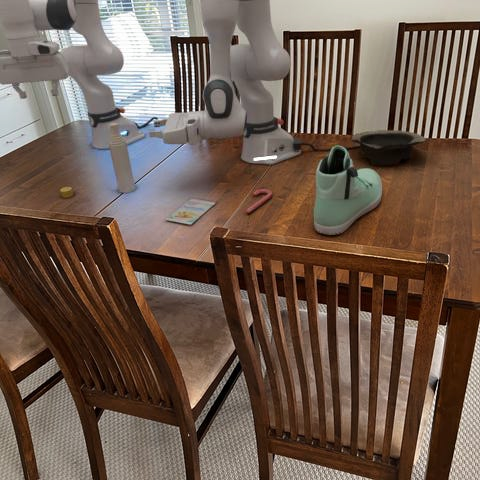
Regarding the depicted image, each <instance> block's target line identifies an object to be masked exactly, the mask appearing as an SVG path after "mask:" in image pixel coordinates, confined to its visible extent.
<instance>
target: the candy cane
mask: <svg viewBox="0 0 480 480" xmlns="http://www.w3.org/2000/svg"><path fill="white" fill-rule="evenodd" d="M261 194H265V195H264V196H263V197H262V198H260V199H259V200H257V201H256V202H255V203H254V204H252V205H251V206H250V207H248V208H247V209H246V210H245V213H246V214H248V215H249V214H251V213H252V212H254V211H255V210H257V209H258V208H259V207H260V206H261V205H263V204H264V203H265V202H267V201H268V200H269V199H271V198H272V197H273V192H272V191H271V190H270V189H266V188H260V189H256V190H255V191H253V193H252V196H253V197H257V196H258V195H261Z"/></svg>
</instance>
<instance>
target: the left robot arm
mask: <svg viewBox="0 0 480 480" xmlns="http://www.w3.org/2000/svg"><path fill="white" fill-rule="evenodd" d="M0 23H1V25H2V27H3V28H4V33H5V40H6V43H7V47H8V48H7V49H2V50H0V85H2V86H3V85H11V86H12V88H13V90H14V91H15V92H16V93H18V96H19V98H20V100H23V99H24V100H25V99H27V98H28V95H27V91H26V90H23V89H21V87H20V86H21V84H26V83H27V84H29V83H37V82H39V83H40V82H49V81H51V83H52V84H53V85H54V86H53V88H52V89H51V90H50V93H51V96H52V97H57V96H59V90H58V88H59V85H60V81H61V80H62V81H63V80H67V79H68V77H70V78H72V80H73V81H74V82H75V83H76V84H77V85H78V87H79V89H80V90H81V92H82V95H83V98H84V101H85V104H86V109H87V118H88V122H89V125H90V127H91V128H90V129H91V137H92V138H91V140H92V141H91V147H92V148H94V149H98V150H107V149H109V139H110V136H111V130H110V126H109V124H111V123H118V128H119V133H121V135H122V136H123V137H124V139H125V141H126V143H127V146H128V145H131V144H132V143H135V142H137V141H139V140H141V139H143V138H145V137H146V135H145V133H144V132H142V131H140V130H139V129H142V128H145V127H146V126H148V125H149V124H151V122H152V121H158V120H159V117H156V116H153V117H152V118H150V119H149V120H148V121H146V123H143V124H142V125H138V123H137V122H135V121H134V120H131V119H129V118H127V117H125V116H123V115H122V114H125V112H126V109H125V108H124V107H123V108H122V107H117V106H116V103H115V97H114V94H113V90H112V87H110V86H109V85H108V84H106V83H104V82H102V81H101V80H100V78H99V77H98V76H110V75H115V74H118V73H120V72H121V71H122V70H123V67H124V63H125V57H124V55H123V52H122V51H121V50H120V48H119V47H118V46H116V45H115V44H114V43H113V42H112V41H111V40H110V39H109V37H108V36H107V34H106V32H105V30H104V27H103V24H102V18H101V12H100V5H99V0H0ZM71 29H72V30H73V32H76V34H78V35H81V37H83V38H84V40H85V43H86V45H71V46H68V47H64V48H62V49H61V48H60V44H59V43H58V42H56V41H52V40H47V39H43V38H41V37H40V33H39V31H41V32H42V31H54V30H55V31H69V30H71ZM109 150H110V149H109Z"/></svg>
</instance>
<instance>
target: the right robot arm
mask: <svg viewBox="0 0 480 480" xmlns="http://www.w3.org/2000/svg"><path fill="white" fill-rule="evenodd" d="M199 7H200V16H201V23H202V27H203V29H204V31H205V33H206V36H207V39H208V42H209V43H208V44H209V49H210V74H209V78H208V81H207V82H206V85H205V86H204V89H203V90H202V91H203V92H202V99H203V102H204V104H205V108H206V110H197V111H195V110H194V111H188V112H171V113H169V115H168V117H167V118H162V119H158V120H153V128H160V127H163V129H160V130H156V129H150V130H149V132H148V136H149V138H157V139H162V142H163V144H166V145H185V144H188V145H189V146H193V145H194V146H195V145H197V144H198V143H199V142H201V141H204V140H210V139H231V138H237V137H240V136H243V140H242V148H241V149H242V150H241V155H240V159H241V160H242V161H243V162H245V163H248V164H249V163H250V164H263V165H276V164H277V163H280V162H282V161H285V160H288V159H291V158H294V157H296V156H299V155H301V154H302V146H308V147H310V148H311V149H312V150H313V151H316V152H331V149H332V148H333V147H331V148H316V147H314V145H313V144H312V143H309V142H302V141H301V138H299V137H295V138H294V137H293V135H292V134H291V133H289V132H288V131H286V130H284V129H283V128H282V127H280V126H283V125H284V122H285V121H284V119H281V118H278V117H276V116H275V115H274V114H275V113H274V97H273V95H272V92H271V91H269V90H268V89H267V88H266V87H265V85H264V83H263V82H275V81H277V82H278V81H281V80H284V79H285V78H287V76H288V74H289V72H290V69H291V63H292V62H291V56H290V55H289V52H288V51H287V50H286V49H285V48H284V47H283V46H282V45H281V43H280V41H279V39H278V38H277V36H276V33H275V30H274V28H273V23H272V15H271V0H199ZM236 27H237V29H238V30H239V31H240V32H241V33H242V34H244V36H245V37H246V39H247V41H248V43H237V44H233V45H232V40H233V36H234V34H235V31H236ZM236 89H237V90H236ZM237 91H238V94H239V98H240V100H239V98H238V96H237ZM279 125H280V126H279ZM344 148H345V149H346V150H347V151H348V150H353V149H361V148H360V145H354V146H345V147H344Z"/></svg>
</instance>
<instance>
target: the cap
mask: <svg viewBox="0 0 480 480" xmlns="http://www.w3.org/2000/svg"><path fill="white" fill-rule="evenodd" d="M59 191H60V196H61V197H62V198H63V199H67V198H68V199H69V198H71V197H73V196H74V195H75V193H74V189H73V187H71V186H64V187H62V188H60V189H59Z"/></svg>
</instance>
